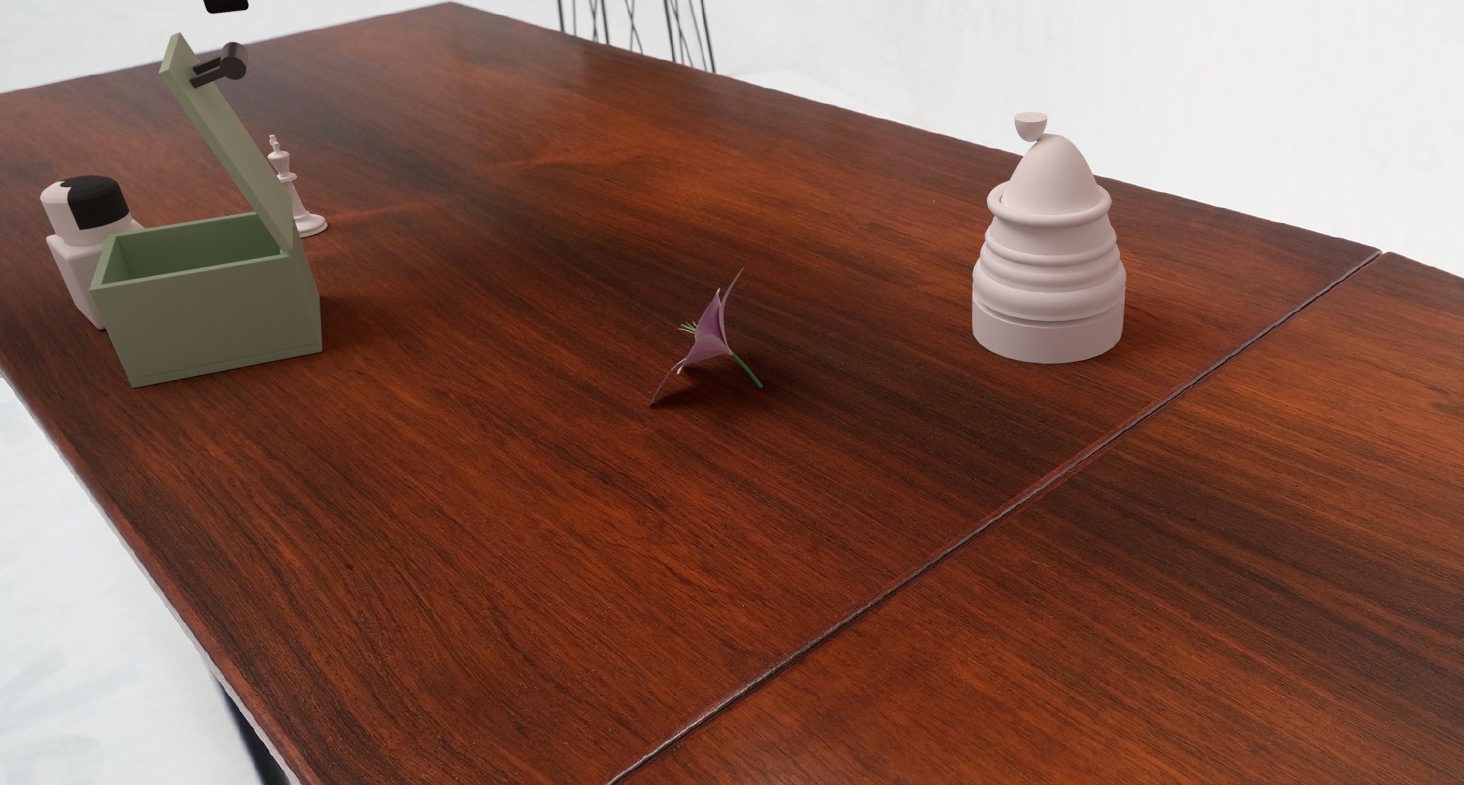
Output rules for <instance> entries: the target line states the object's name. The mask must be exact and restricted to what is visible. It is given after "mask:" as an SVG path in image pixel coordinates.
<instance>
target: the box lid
mask: <svg viewBox="0 0 1464 785" xmlns="http://www.w3.org/2000/svg"><path fill="white" fill-rule="evenodd" d="M248 56H249V54H248V51H247V49H246V47H245V46H244V45H243V44H241V43H239V42H237V41H229V42H227V43H225V44H224V45H223V47H222V50H221V54H219V55H216V56H214V57H212V58H209V59H206V60H204V61H200V59H199V58H198V57H197V55H196V53H195V52H194V51H193V49H192V48H191V46H190V44H189V43H188V42H187V40H186V38H185V37H184V36H183V34H182V32H180V31H179V32H176V33H174V34H172V35H170V38H169V41H168V43H167V46H166V50H165V52H164V55H163V59H162V61H161V65H160V68H159V70H158V75H159V77H160V78H161V80H162V81H163V82H164V84H165V85H166V87H167V88H168V89H169V91H170V92H171V94H172V95H173V97H174V98H175V99H176V101H177V102H178V104H179V105H180V107H181V108H182V110H183V111H184V112H185V114H186V115H187V117H188V119H189V120H190V121H191V122H192V124H193V125H194V127H195V128H196V130H197V131H198V132H199V134H200V135H201V137H202V138H203V140H204V141H205V142H206V144H207V145H208V148H210V149H211V151H212V152H213V154H214V156H215V157H216V158H217V160H218V161H219V163H220V164H221V165H222V167H223V168H224V170H225V171H226V172H227V174H228V176H229V177H230V178H231V180H232V181H233V183H234V184H235V185H236V187H237V188H238V190H239V191H240V193H241V194H242V196H243V197H244V198H245V200H246V201H247V203H248V204H249V205H250V207H251V208H252V209H253V212H256V214H257V215H258V217H259V218H260V220H261V221H262V222H263V224H264V225H265V227H266V228H267V230H268V231H269V232H270V234H271V235H272V237H273V238H274V240H275V241H276V242H277V244H278V245H279V247H280V248H281V250H282V251H283V252H287V251H289V250H291V249H293V224H292V198H291V196H290V195H289V193H288V192H287V190H286V189H285V187H284V186H283V184H282V183H281V181H280V180H279V178H278V177H277V175H278V174H276V172H275V171H274V169H273V168H272V166H271V165H270V163H269V162H268V160H267V159H266V158H265V156H264V155H263V153H262V151H261V150H260V148H259V147H258V146H257V144H256V143H255V141H254V140H253V138H252V137H251V135H250V134H249V132H248V131H247V129H246V128H245V126H244V125H243V123H242V121H241V120H240V119H239V117H238V116H237V114H236V113H235V111H234V110H233V108H232V107H231V106H230V104H229V103H228V100H226V98H225V96H224V94H223V93H222V92H221V90H220V89H219V88H218V86H217V85H216V83H215V81H217V80H219V79H222V78H224V77H225V78H227V79H229V80H232V81H238V80H241V79H242V78H244V77H245V76H246V73H247V68H248V67H247V65H248V58H249V57H248Z"/></svg>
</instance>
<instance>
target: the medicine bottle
mask: <svg viewBox="0 0 1464 785" xmlns="http://www.w3.org/2000/svg"><path fill="white" fill-rule="evenodd" d="M39 199H40V202H41V204H42V206H43V208H44V211H45V213H46V215H47V217H48V219H49V222H50V224H51V226H52V229H53V230H54V233H55V234H51V235H48V236H46V238H45V242H46V244H47V246H48V248H49V251H50V252H51V255H52V257H53V259H54V261H55V264H56V266H57V268H58V271H59V272H60V274H61V277H62V280H63V281H64V284H65V285H66V288H67V290H68V292H69V294H70V296H71V299H72V301H73V303H74V305H75V307H76V308H77V309H78V310H79V311H80V313H82V314H83V315H84V317H86V319H88V320H89V322H90V323H91V324H92V325H93V326H94V327H95V328H96V329H97V330H99V331H103V330H106V328H105V326H104V323H103V321H102V319H101V317H100V315H99V312H98V310H97V308H96V306H95V303H94V301H93V299H92V297H91V294H90V292H89V288H90V286H91V283H92V280H93V277H94V274H95V271H96V267H97V264H98V261H99V258H100V255H101V252H102V249H103V246H104V243H105V240H106V237H107V235H108V234H115V233H121V232H128V231H134V230H140V229H146V227H144V226H143V225H142V224H140V223H139V222H138V221H137V220H135V219H134V218H133V216H132V213H131V211H130V208H129V206H128V204H127V201H126V198H125V196H124V194H123V191H122V188H121V186H120V184H119V182H118V181H116V180H115V179H114V178H112V177H109V176H103V175H96V174H94V175H93V174H90V175H89V174H87V175H79V176H72V177H68V178H65V179H62V180H57V181H56V182H53V183H52V184H50V185H49V186H48V187H46V188H45V189H43V191H42V192H41V194H40V196H39Z"/></svg>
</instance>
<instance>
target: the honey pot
mask: <svg viewBox="0 0 1464 785" xmlns="http://www.w3.org/2000/svg"><path fill="white" fill-rule="evenodd" d="M1013 120H1014V127H1015V130H1016V132H1017V134H1018V136H1019V137H1020V138H1021V140H1023V141H1024V142H1027V143H1034V142H1035V143H1034V144H1033V145H1032V146H1031V147H1030V148H1028V150H1027V151H1026V152H1025V154H1024V155H1023V156H1022V158H1021V160H1020V161H1019V163H1018V164H1017V166H1016V168H1015V170H1014V171H1013V173H1012V175H1011V177H1010V179H1009V180H1007V181H1004V182H1002V183H1000V184H998V185H997V186H995V187H994V188H993V189H991V191H990V192H989V194H988V195H987V198H986V203H987V204H986V205H987V209H988V211H990V212H991V214H993V219H992V221H991V223H990V224H989V226H988V227H987V229H986V231H985V233H984V240H985V241H984V242H983V244H982V246H981V248H980V252H979V255H980V256H979V257H978V259H977V261H976V262H975V264H974V267H973V271H972V285H971V286H972V292H971V293H972V294H971V298H972V299H971V301H972V302H971V311H972V313H971V318H972V319H971V322H972V324H971V327H972V335H973V337H974V338H975V339H976V341H977V342H978V343H979V345H981V346H982V347H984V348H985V349H987V350H988V351H990V352H991V353H994V354H996V355H998V356H1001V357H1004V358H1006V359H1011V360H1015V361H1019V362H1023V363H1033V364H1043V365H1045V364H1047V365H1048V364H1049V365H1050V364H1051V365H1052V364H1068V363H1074V362H1080V361H1081V362H1082V361H1085V360H1088V359H1092V358H1095V357H1097V356H1100V355H1101V356H1102V355H1103V354H1104V353H1106V352H1108V351H1110V350H1111V349H1114V347H1115V346H1116V345H1117V344H1118V342H1119V341H1120V340H1121V339H1122V338H1121V337H1122V333H1123V328H1124V317H1125V316H1124V314H1125V303H1126V302H1125V301H1126V295H1125V294H1126V283H1127V271H1126V268H1125V266H1124V264H1123V262H1122V260H1121V259H1120V258H1121V251H1120V249H1119V246H1118V244H1117V240H1118V237H1117V233H1116V231H1115V229H1114V227H1113V226H1112V225H1111V221H1110V218H1109V214H1108V213H1109V211H1110V209H1111V206H1112V203H1113V202H1112V198H1111V195H1110V192H1108V190H1106V188H1104V187H1103V186H1101V185H1099V184H1098V183H1097V181H1096V178H1095V176H1094V173H1093V172H1092V169H1091V167H1090V166H1089V164H1088V162H1087V160H1086V159H1085V156H1084V155H1083V154H1082V152H1081V150H1080V149H1079V148H1078V147H1077V146H1076V145H1075V144H1074V143H1073V142H1072V141H1071V140H1070V139H1069V138H1067V137H1065V136H1064V135H1062V134H1054V133H1053V134H1052V133H1045V130H1046V128H1047V125H1048V115H1047V114H1045V113H1042V112H1037V111H1028V112H1027V111H1026V112H1020V113H1018V114H1016V115H1014V119H1013Z"/></svg>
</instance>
